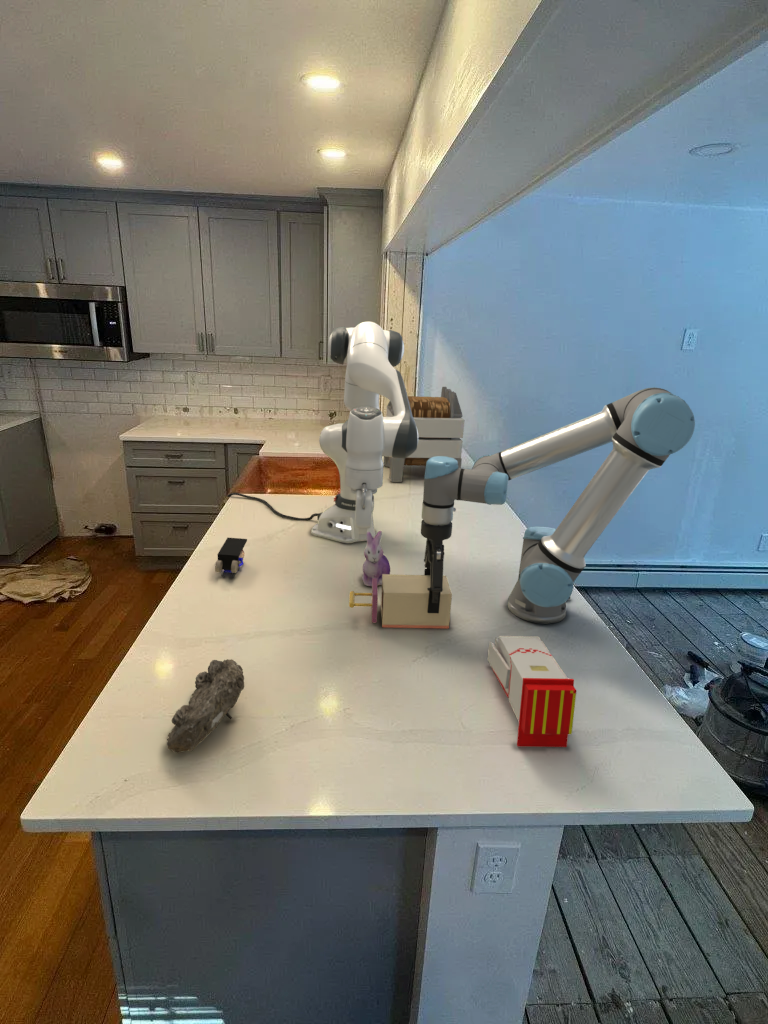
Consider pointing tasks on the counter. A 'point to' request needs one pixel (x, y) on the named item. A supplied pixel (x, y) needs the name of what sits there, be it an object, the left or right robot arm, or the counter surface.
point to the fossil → (206, 705)
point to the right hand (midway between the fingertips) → (430, 601)
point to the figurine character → (230, 556)
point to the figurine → (374, 560)
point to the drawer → (373, 600)
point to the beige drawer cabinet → (413, 602)
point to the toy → (534, 690)
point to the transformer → (431, 431)
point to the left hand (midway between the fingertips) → (362, 532)
